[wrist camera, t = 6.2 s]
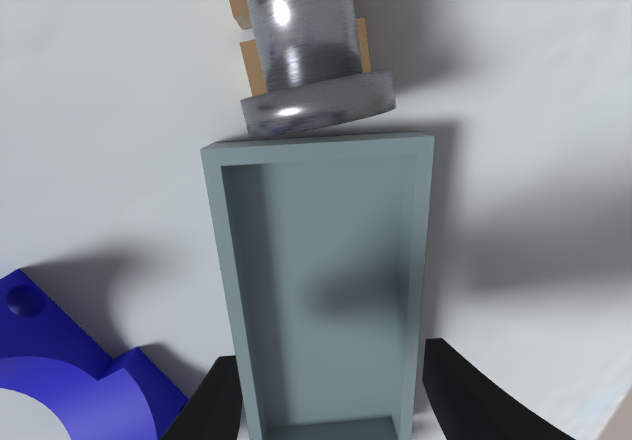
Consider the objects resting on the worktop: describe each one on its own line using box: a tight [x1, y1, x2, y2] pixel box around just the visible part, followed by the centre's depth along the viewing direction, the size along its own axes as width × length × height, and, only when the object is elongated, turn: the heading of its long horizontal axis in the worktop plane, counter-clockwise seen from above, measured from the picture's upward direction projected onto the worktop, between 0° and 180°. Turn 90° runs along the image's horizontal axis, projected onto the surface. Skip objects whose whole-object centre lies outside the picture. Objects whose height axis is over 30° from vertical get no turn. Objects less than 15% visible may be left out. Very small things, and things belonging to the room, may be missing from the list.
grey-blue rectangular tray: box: [200, 131, 435, 440], centre depth 15 cm, size 16×8×2 cm, turn 3°
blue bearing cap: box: [0, 269, 189, 440], centre depth 14 cm, size 12×4×6 cm, turn 29°
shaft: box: [229, 0, 396, 137], centre depth 9 cm, size 5×4×5 cm
